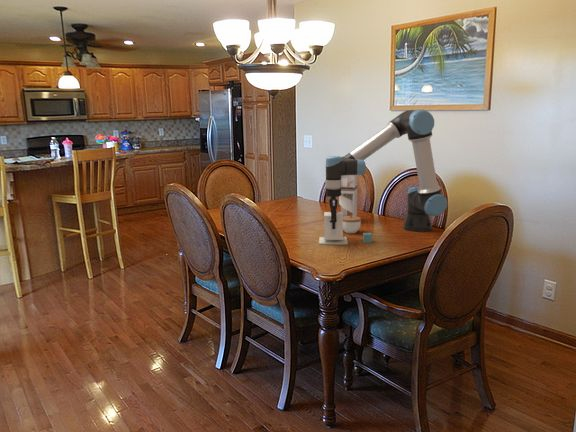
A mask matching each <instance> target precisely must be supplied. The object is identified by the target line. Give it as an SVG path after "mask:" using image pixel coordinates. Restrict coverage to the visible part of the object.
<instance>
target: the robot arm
mask: <svg viewBox="0 0 576 432" xmlns="http://www.w3.org/2000/svg"><path fill="white" fill-rule="evenodd" d="M434 127H435V118H434V116H433V114H432V113H431V112H429V111H428V110H425V109H408V110H405V111H403V112H401V113H400V114H398V115H397V116H396V117H394V118H392V119H391V120H390V121H389V122H387V125H386V126H385V127H384V128H382V129H381V130H379V131H378V132H376V133H375V134H373V136H371V137H369V138H368V139H367V140H365V141H364V142H362V143H361V144H359V145H358V146H357V147H356V148H354V149H352V150H351V151H349V152H348V153H347V154H346V155H344V156H340V155H332V156H331V155H329V156H327V157H326V158H325V181H324V184H325V188H326V189H325V196H326V197H329V198H330V199H328V200H329V201H328V202H329V210H330V212H331V221H330V223H331V235H336V222H337V220H336V212H337V209H338V203H339V199H338V198H339V196H341V176H344V175H357V176H361V175H364V174H365V173H366V171H367V170H366V168H367V167H366V166H367V165H366V162H365V160H366V159H367V158H369V157H371V156H372V155H373V154H375V153H376V152H378V151H379V150H381V149H382V148H383V147H385V146H386V145H387V144H389V143H391V142H392V141H394V140H395V139H399V138H401V137H402V136H404V135H407V139H408V141H410V142H411V144H412V151H413V155H414V161H415V166H416V172H417V179H418V184H419V186H414V187H413V186H412V187H411V186H410V187H409V188H408V189H407V210H406V211H407V213H406V217H405V219H404V222H403V226H402V227H403V228H402V229H404V230H407V231H412V232H429V231H431V230H432V229H433V224H432V221H431V216H432V217H437V216H441V215H442V214H443V213H444V212H445V210H446V209H447V207H448V200H447V198H446V196H445V195H443V193H442V192H443V191H442V187H441V186H439V185H438V182H437V181H438V180H437V175H436V170H435V169H436V168H435V163H434V162H435V161H434V158H433V151H432V144H431V138H432V136H433V130H434V129H433V128H434ZM337 197H338V198H337ZM332 219H335V220H332Z"/></svg>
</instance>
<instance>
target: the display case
mask: <svg viewBox="0 0 576 432" xmlns="http://www.w3.org/2000/svg"><path fill="white" fill-rule="evenodd" d="M338 203H339V206H340V212H342V214H343V217H344V216H350V215H352V216H357V215H358V175H344V176H341V196H339V197H338ZM357 217H358V216H357Z"/></svg>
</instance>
